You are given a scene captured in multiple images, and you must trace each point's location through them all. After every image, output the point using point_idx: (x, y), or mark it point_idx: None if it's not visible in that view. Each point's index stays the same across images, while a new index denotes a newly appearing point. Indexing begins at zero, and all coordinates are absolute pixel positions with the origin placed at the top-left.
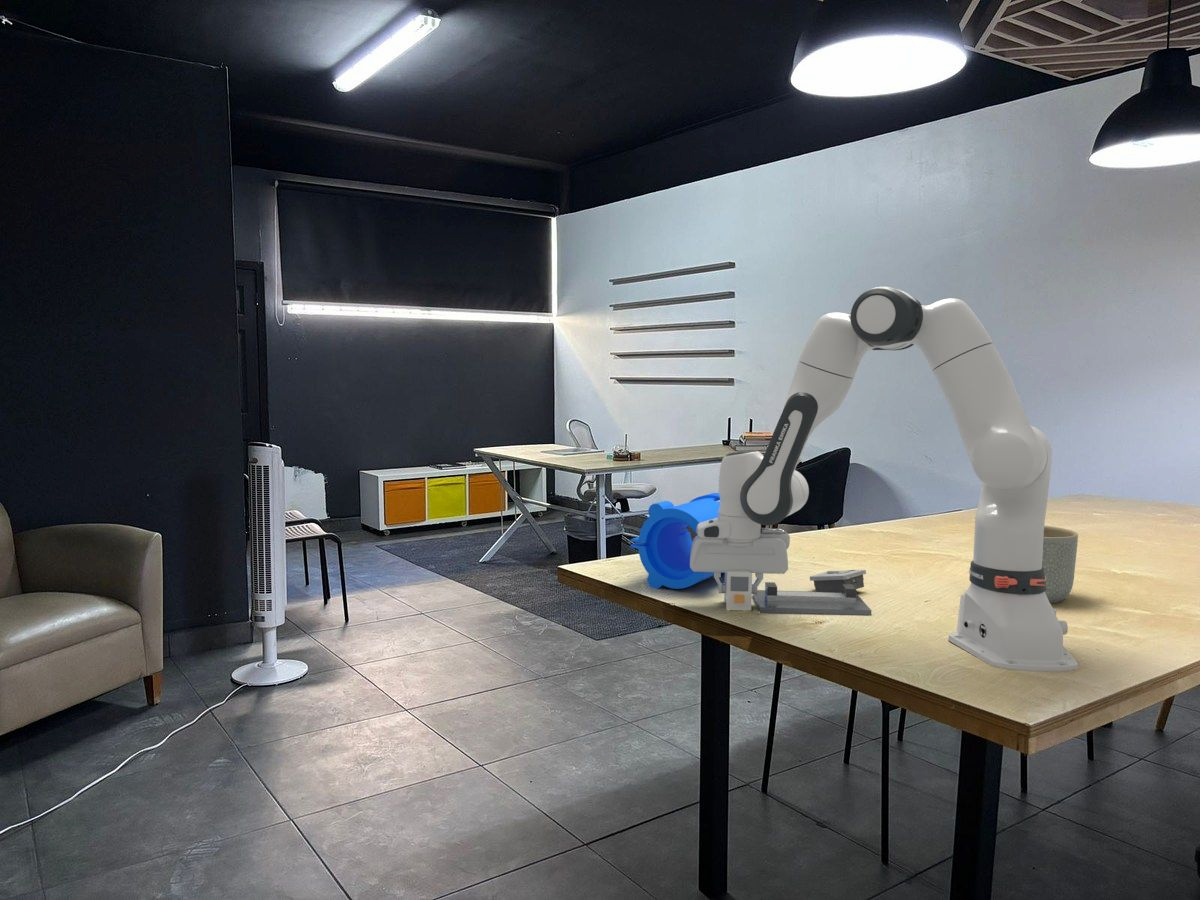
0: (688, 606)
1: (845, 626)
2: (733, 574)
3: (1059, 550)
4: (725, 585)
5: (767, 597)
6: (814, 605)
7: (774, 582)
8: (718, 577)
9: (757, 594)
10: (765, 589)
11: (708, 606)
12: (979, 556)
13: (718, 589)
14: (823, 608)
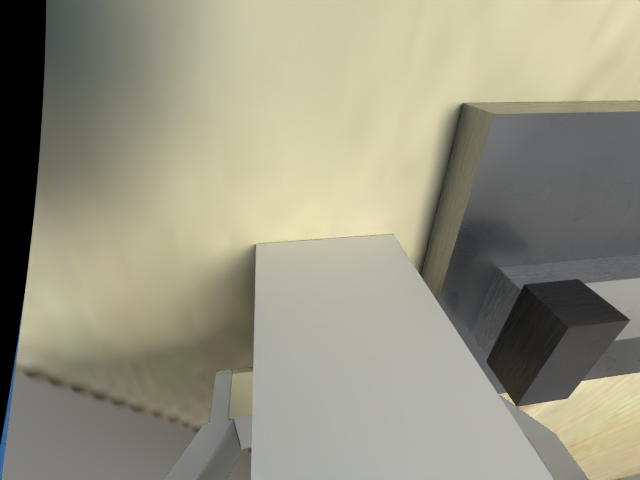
0: (71, 356)
1: (587, 404)
2: None
3: None
4: None
5: (482, 347)
6: (623, 349)
7: (628, 320)
8: (199, 474)
9: (473, 236)
10: (523, 311)
11: (178, 337)
12: None
13: (215, 382)
14: (624, 370)
